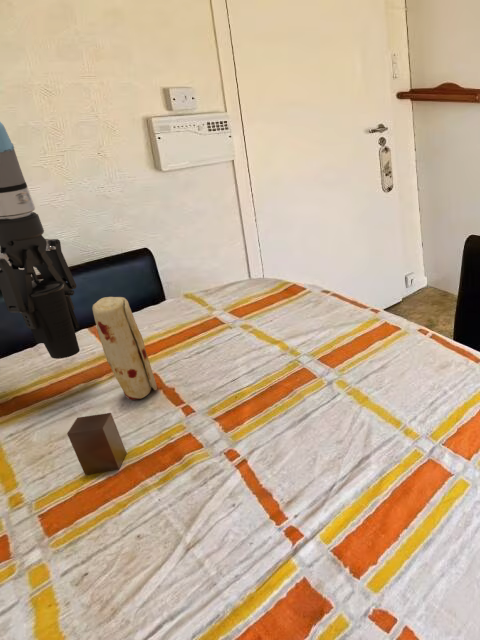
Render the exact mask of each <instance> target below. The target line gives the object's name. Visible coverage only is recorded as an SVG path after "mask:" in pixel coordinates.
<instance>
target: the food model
mask: <svg viewBox="0 0 480 640" xmlns="http://www.w3.org/2000/svg"><path fill="white" fill-rule="evenodd" d="M91 309H92V315H93V318H94V322H95V326H96V329H97V334H98V337H99V340H100V344H101V346H102V347H101V348H102V350H103V354H104V356H105V359H106V361H107V363H108V365H109V367H110V369H111V371H112V374H113V375H114V377H115V379H116V381H117V383H118V384H119V386H120V388H121V390H122V391H123V394H124V396H125V397H126V398H127V399H128V400H131V401H135V400H141V399H143V398H145V397H146V396H148V395H149V394H150V392H151V391H152V389H153V391H156V390H157V388H158V387H157V382H156V378H155V375H154V372H153V369H152V366H151V362H150V359H149V356H148V352H147V349H146V346H145V341H144V339H143V336H142V333H141V331H140V329H139V326H138V324H137V322H136V319H135V317H134V314H133V311H132V309H131V307H130V303H129V301H128V299H126V297H123V296H106V297H101V298H100V299H98V300H97V301H96V302H95V303H94V304H92V307H91Z"/></svg>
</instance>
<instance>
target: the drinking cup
mask: <svg viewBox="0 0 480 640" xmlns="http://www.w3.org/2000/svg"><path fill="white" fill-rule="evenodd" d="M31 278H32V288H33V291H32V293H31V294H30V295H29V296H30V297H32V299H33V301H34V307H35V310H40V312H41V314H42V317H43V319H44V322H45V324H46V327H47V329H48V332H49V334H50V337H51V339H52V343H50V344H45V343H43V345H44V347H45V348H46V350H47V352H48V353H49V355H50V358H52V359H56V360H57V359H58V360H59V359H66V358H71V357H73V356H75V355H77V354H78V353H79V352H80V346H79V343H78V342H79V341H78V338H77V335H76V331H75V329H74V327H73V323H72V319H71V316H70V312H69V308H68V304H67V301H66V297H65V293H64V289H63V287H64V284H63V282H61V281H54V280H49V279H44V278H42V279H41V278H40V279H39V278H38V275H37V273H36V271H35V267H33V274H31ZM25 305H26V304H25Z"/></svg>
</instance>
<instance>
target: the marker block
mask: <svg viewBox="0 0 480 640" xmlns="http://www.w3.org/2000/svg"><path fill="white" fill-rule="evenodd" d="M66 435H67V437H68V440H69V441H70V444H71V446H72V448H73V450H74V453H75V455H76V458H77V459H78V462H79V464H80V467H81V469H82V471H83V473H84V475H85V476H87V475H88V476H89V475H93V474H98V473H99V474H100V473H105V472H111V471H117V470H120V468H121V466H122V463H123V461H124V459H125V457H126V455H127V451H126V448H125V445H124V442H123V441H122V440H123V439H122V437H121V434H120V432H119V430H118V427H117V425H116V422H115V420H114V416H113V414H112V412H107V413H106V412H105V413H100V414H93V415H85V416H81V417H80V416H79V417H77V418H76V419H75V420H74V422H73V423H72V425H71V427H70V428H69V429H68V431H67V433H66Z"/></svg>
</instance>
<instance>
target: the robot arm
mask: <svg viewBox="0 0 480 640" xmlns="http://www.w3.org/2000/svg"><path fill="white" fill-rule="evenodd" d="M4 125H5V124H3V122H1V121H0V292H1V295H2V297H3V301H4V304H5V307H6V309H7V311H8V313H20V314H21V316H22V319H23V321H24V324H25V325H26V328H27V329H29V330H30V331H31V333H32V335H33V339H34V340H35V343H36V344H44V343H45V344H50V343H52V339H51V337H50V334H49V332H48V329H47V327H46V324H45V322H44V319H43V317H42V314H41V312H40V310H35V307H34V301H33V299H32V297H30V296H29V295H30V294H31V293H32V291H33V288H32V281H33V278H32V275H31V274H33V268H34V269H36V270H37V271H38V273H39V274H40V276H41V277H42V279H49V280H54V281H61V282H63V284H64V287H63V289H64V293H65V297H66V301H67V304H68V308H69V312H70V316H71V319H72V323H73V327H74V330H78V329H79V328H81V327H80V324H79V322H78V319H77V316H76V314H75V312H74V310H75V305H74V303H73V301H72V300H73V299H72V298H71V297H72V296H74V295H75V289H77V283H76V281H75V279H74V276H73V274H72V272H71V270H70V267H69V265H68V263H67V261H66V258H65V256H64V254H63V251H62V245H61V240H60V239H59V238H45V237H44V236H43V234H44V233H45V229H44V227H43V224H42V221H41V219H40V216H39V214H38V213H37V212H34V211H35V210H36V206H35V203H34V200H33V198H32V195H31V192H30V190H29V187H28V184H27V182H26V179H25V176H24V174H23V170H22V168H21V165H20V162H19V160H18V156H17V154H16V150H15V146H14V143H13V142H12V139H11V138H10V135H9V133H8V132H7V130H6V128H5V126H4ZM25 304H26V305H25Z"/></svg>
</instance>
